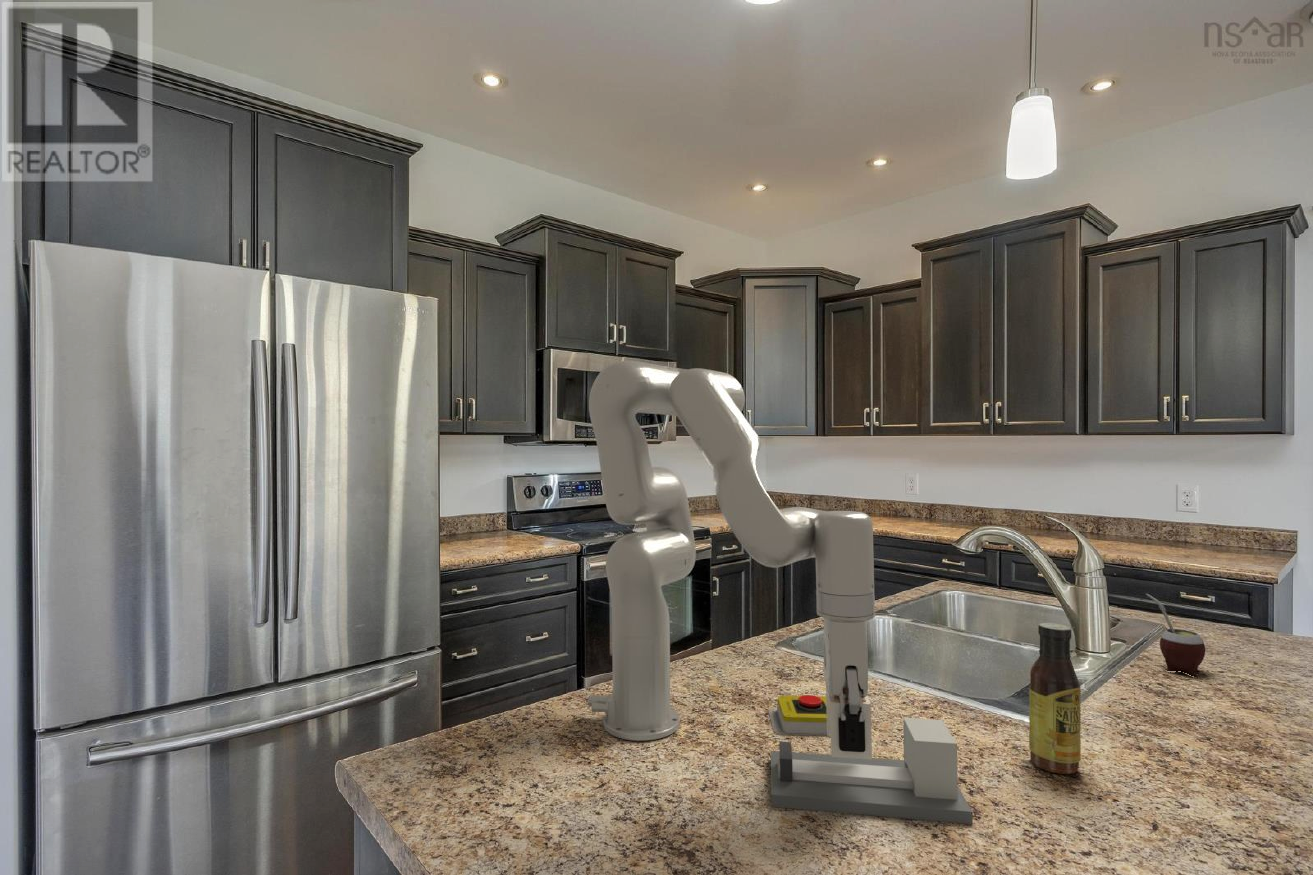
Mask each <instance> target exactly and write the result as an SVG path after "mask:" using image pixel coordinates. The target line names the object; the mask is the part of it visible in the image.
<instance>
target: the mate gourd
mask: <svg viewBox="0 0 1313 875" xmlns="http://www.w3.org/2000/svg"><path fill="white" fill-rule="evenodd" d="M1145 595H1146V596H1147V597H1148V598H1150V599H1151V600H1152V601H1154V602H1155V603H1156V604H1157V605H1158V607H1159V609H1160V611H1161V612H1162V615H1163V616H1164V619H1165V621H1166V623H1167V625H1168V628H1167V629H1165V630H1164V632H1162V634H1161V635H1160V640H1159V647H1160V648H1159V649H1160V652H1161V654H1162V655H1163V658H1164V660H1165V663H1166V664H1165V665H1166V667H1167V669H1165V671H1166V670H1167V671H1176V672H1178V671H1181V672H1184V673H1187V674H1189V675H1191V676H1194V677H1197V678H1198V675H1197V674H1196V673H1195V672H1199V673H1200V669H1198V667H1199V666H1200V665H1201V664H1202V662H1203V661H1204V658H1205V655H1206V645H1205V642H1204V640H1203V638H1202V637H1201V636H1200V634H1199V633H1197V632H1194V631H1191V630H1187V629H1181V628H1174V627H1173V624H1172V623H1171V620H1170V618H1169V616H1168V613H1167V611H1166V607H1165V606H1164V604H1162V602H1160V600H1158V599H1157V598H1155V597H1153V596H1152V595H1150V594H1148V593H1145Z"/></svg>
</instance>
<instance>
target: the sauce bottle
mask: <svg viewBox="0 0 1313 875" xmlns="http://www.w3.org/2000/svg"><path fill="white" fill-rule="evenodd" d="M1037 627H1038V634H1039V635H1038V636H1039V650H1038V653H1039V656H1038V658H1037V659H1036V660H1035V662H1034V664H1032V666H1031V668H1030V671H1029V672H1030V676H1029V677H1030V680H1029V681H1030V686H1029V689H1028V690H1029V691H1028V692H1029V699H1028V700H1029V704H1028V705H1029V708H1028V710H1029V712H1028V714H1029V718H1028V719H1029V720H1028V722H1029V724H1028V728H1029V729H1028V730H1029V731H1028V740H1029V741H1028V747H1029V750H1030V752H1029V753H1030V759H1031V760H1030V761H1031V762H1032V764H1034V766H1036V767H1038V768H1040V769H1041V770H1044V771H1047V772H1049V773H1054V774H1059V775H1072V774H1076V773H1077V772H1078V771H1079V767H1080V761H1081V755H1082V754H1081V748H1082V747H1081V745H1082V744H1081V742H1082V741H1081V739H1082V738H1081V737H1082V736H1081V733H1082V732H1081V728H1082V726H1081V725H1082V724H1081V696H1082V695H1081V688H1082V687H1081V684H1080V682H1079V679H1078V675H1077V674H1076V671H1075V669H1074V665H1073V663H1072V660H1071V651H1070V650H1071V649H1070V648H1071V639H1072V628H1071V627H1069V626H1068V625H1065V624H1060V623H1053V622H1041V623H1038V626H1037Z"/></svg>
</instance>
